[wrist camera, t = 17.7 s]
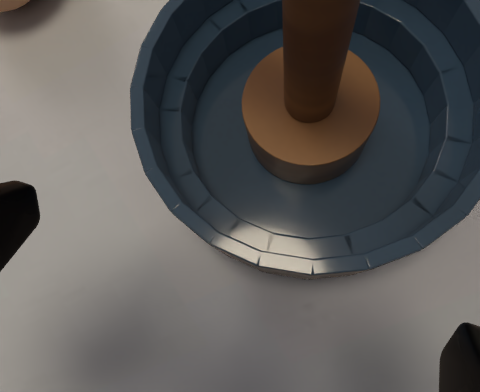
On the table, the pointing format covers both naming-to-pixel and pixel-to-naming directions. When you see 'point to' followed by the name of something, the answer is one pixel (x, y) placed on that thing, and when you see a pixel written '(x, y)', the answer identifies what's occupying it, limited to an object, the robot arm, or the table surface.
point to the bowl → (335, 190)
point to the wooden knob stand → (311, 95)
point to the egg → (11, 4)
